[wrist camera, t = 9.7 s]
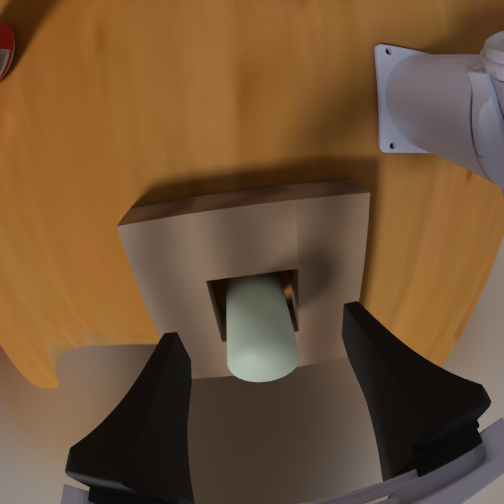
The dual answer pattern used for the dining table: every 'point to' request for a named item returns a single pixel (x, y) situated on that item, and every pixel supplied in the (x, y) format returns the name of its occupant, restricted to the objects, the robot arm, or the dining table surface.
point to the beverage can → (6, 47)
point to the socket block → (250, 261)
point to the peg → (259, 328)
